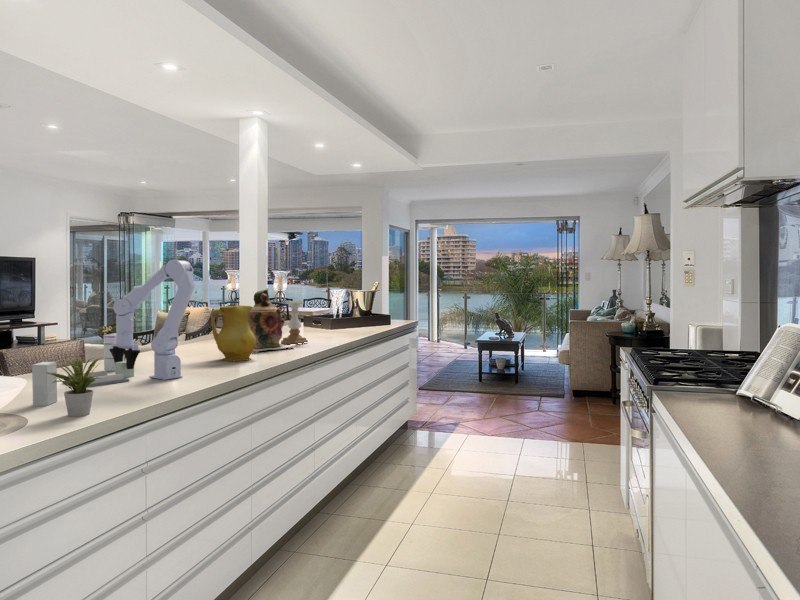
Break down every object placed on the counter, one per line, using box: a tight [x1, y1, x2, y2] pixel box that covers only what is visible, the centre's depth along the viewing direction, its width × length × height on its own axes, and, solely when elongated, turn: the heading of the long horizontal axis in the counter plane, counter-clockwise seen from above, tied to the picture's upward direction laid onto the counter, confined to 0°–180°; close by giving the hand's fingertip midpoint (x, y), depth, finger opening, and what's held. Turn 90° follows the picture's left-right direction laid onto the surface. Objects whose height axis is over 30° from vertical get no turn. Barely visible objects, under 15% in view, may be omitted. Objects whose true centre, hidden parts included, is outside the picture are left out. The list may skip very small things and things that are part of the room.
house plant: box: [47, 355, 104, 418], centre depth 165 cm, size 14×14×16 cm
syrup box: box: [103, 332, 126, 372], centre depth 240 cm, size 6×6×14 cm
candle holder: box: [280, 300, 309, 345], centre depth 342 cm, size 11×11×24 cm
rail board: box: [63, 370, 130, 388], centre depth 212 cm, size 14×16×3 cm
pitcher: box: [210, 305, 256, 362], centre depth 275 cm, size 17×19×25 cm
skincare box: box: [31, 361, 58, 407], centre depth 176 cm, size 6×4×12 cm
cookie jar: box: [248, 287, 296, 353], centre depth 317 cm, size 25×25×32 cm
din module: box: [114, 361, 135, 379], centre depth 225 cm, size 4×5×6 cm
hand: (124, 367), depth 225 cm, fingers open, 7 cm apart
